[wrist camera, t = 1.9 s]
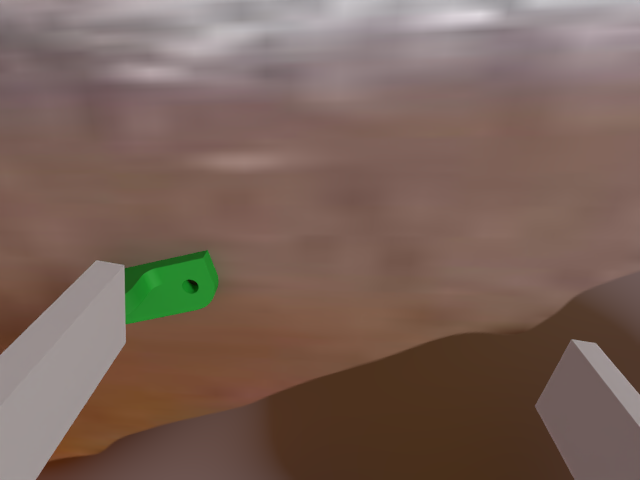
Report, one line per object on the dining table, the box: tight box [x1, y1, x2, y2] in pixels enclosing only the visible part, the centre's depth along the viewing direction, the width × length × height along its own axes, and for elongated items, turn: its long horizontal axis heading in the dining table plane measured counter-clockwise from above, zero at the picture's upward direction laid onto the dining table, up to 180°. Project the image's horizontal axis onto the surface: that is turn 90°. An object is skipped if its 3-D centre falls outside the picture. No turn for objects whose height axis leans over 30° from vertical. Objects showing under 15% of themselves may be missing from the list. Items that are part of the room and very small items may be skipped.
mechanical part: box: [124, 250, 218, 324], centre depth 46 cm, size 12×6×8 cm, turn 104°
